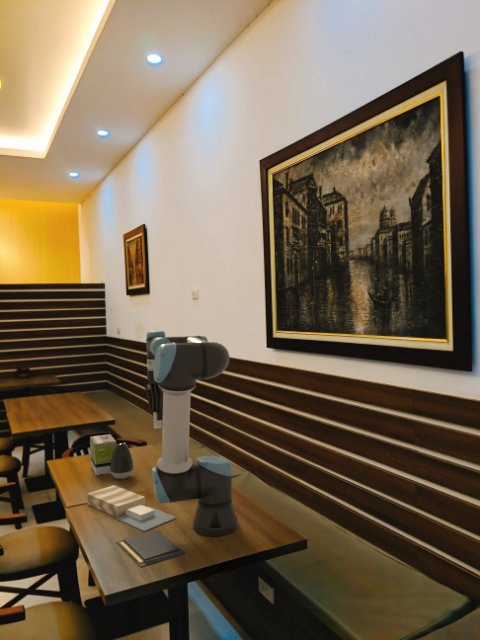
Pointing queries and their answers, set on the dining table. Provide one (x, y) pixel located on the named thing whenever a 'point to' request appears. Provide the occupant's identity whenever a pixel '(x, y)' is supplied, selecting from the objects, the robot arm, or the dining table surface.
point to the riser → (114, 500)
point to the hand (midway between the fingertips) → (157, 427)
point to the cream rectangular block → (139, 512)
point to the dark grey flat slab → (150, 548)
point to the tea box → (102, 453)
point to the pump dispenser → (121, 462)
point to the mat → (147, 520)
